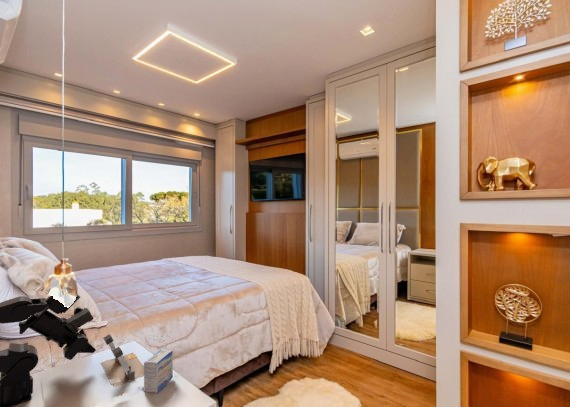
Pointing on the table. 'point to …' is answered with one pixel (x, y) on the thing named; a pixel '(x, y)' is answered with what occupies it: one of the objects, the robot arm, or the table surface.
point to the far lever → (110, 343)
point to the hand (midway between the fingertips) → (94, 351)
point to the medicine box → (158, 371)
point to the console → (117, 372)
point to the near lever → (121, 359)
